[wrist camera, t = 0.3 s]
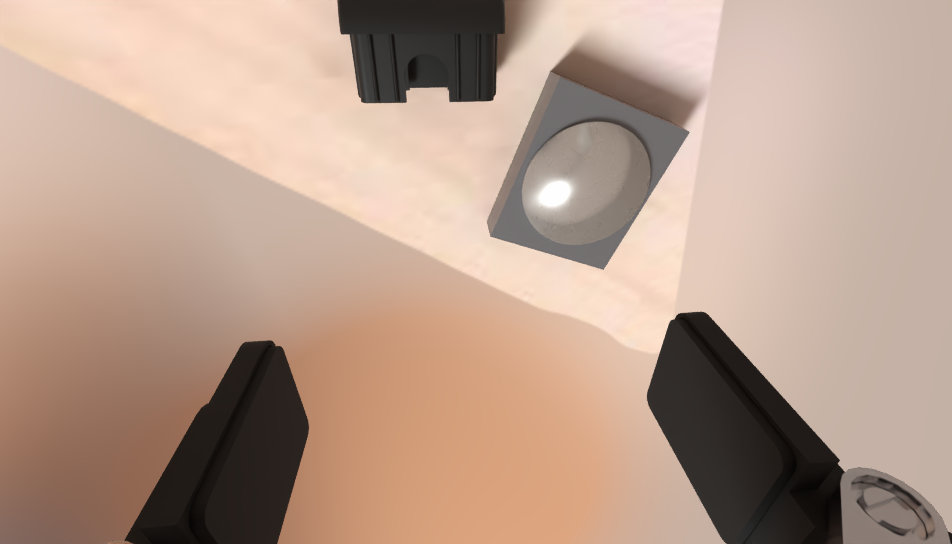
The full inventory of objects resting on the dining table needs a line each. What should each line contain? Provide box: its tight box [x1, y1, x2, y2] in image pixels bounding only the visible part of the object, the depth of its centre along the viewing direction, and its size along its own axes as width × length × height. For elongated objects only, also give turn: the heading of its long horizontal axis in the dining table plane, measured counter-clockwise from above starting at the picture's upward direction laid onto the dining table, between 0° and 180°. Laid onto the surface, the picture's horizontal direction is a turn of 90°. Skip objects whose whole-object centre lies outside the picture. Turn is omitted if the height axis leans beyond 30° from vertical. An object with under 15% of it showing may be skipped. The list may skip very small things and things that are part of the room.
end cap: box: [338, 0, 505, 103], centre depth 28 cm, size 10×7×7 cm
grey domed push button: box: [487, 71, 689, 270], centre depth 37 cm, size 14×12×3 cm
